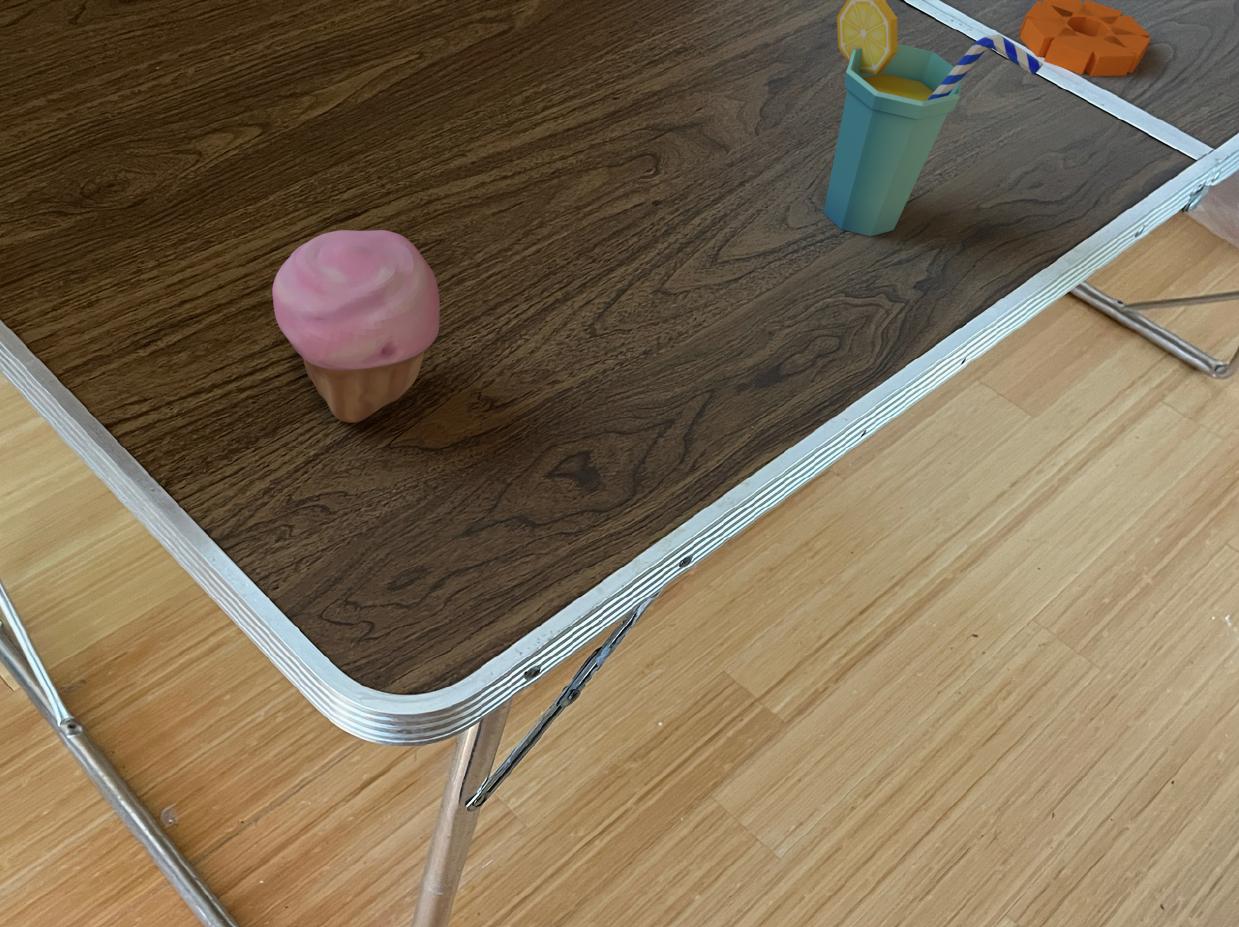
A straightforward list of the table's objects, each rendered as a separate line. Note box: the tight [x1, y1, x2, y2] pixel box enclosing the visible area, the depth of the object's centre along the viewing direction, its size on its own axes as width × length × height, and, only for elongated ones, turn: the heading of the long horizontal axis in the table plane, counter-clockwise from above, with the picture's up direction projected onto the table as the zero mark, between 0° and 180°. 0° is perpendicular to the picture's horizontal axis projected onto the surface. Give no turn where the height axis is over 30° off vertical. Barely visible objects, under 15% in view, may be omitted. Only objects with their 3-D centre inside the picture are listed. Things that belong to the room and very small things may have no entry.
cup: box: [823, 0, 1044, 237], centre depth 81 cm, size 14×8×15 cm, turn 50°
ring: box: [1018, 0, 1152, 77], centre depth 103 cm, size 10×10×3 cm
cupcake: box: [271, 229, 441, 424], centre depth 67 cm, size 9×9×10 cm
